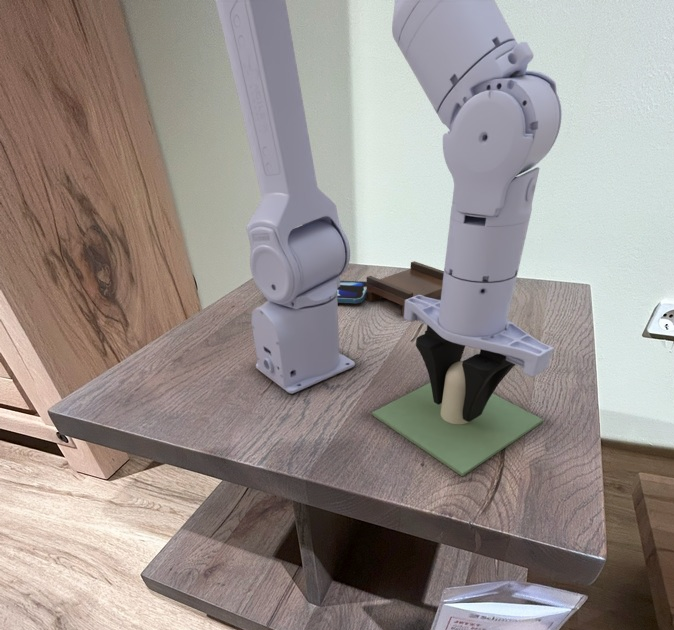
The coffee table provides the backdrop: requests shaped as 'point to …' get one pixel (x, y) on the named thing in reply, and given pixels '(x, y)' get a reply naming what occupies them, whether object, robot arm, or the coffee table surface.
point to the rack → (407, 284)
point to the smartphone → (351, 291)
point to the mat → (456, 428)
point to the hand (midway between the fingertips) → (457, 408)
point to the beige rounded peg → (454, 395)
